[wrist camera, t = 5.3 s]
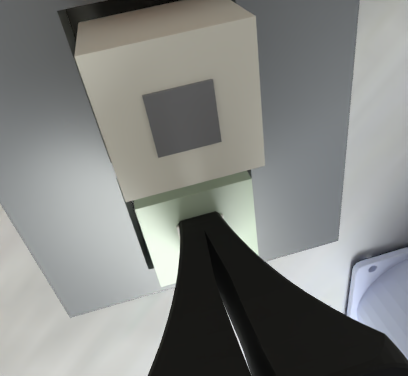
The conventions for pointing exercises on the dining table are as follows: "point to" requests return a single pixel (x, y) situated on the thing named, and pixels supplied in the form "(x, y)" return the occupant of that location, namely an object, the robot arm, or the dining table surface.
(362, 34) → the dining table surface
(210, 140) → the key ivory
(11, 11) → the keypad
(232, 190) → the key sage
